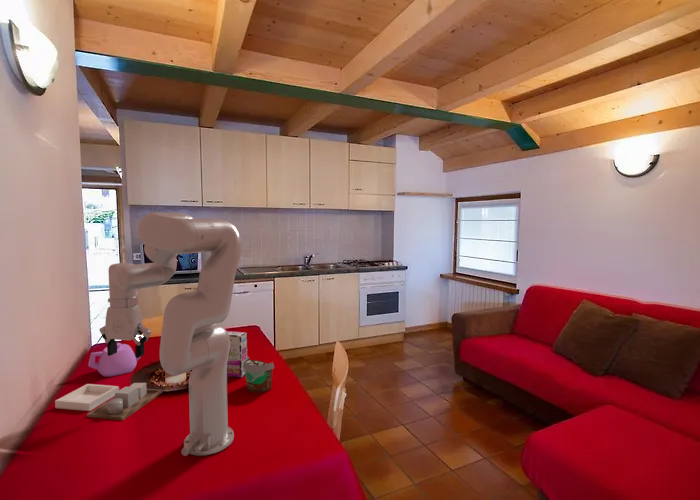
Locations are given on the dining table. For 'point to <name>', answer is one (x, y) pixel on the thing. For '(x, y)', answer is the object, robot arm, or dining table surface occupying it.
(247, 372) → the food container
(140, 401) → the walnut tray
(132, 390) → the stone cube
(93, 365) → the teapot
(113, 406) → the pebble round
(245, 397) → the dining table surface
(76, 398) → the dish
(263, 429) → the dining table surface
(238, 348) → the candy bar box
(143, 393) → the white cube
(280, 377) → the dining table surface
